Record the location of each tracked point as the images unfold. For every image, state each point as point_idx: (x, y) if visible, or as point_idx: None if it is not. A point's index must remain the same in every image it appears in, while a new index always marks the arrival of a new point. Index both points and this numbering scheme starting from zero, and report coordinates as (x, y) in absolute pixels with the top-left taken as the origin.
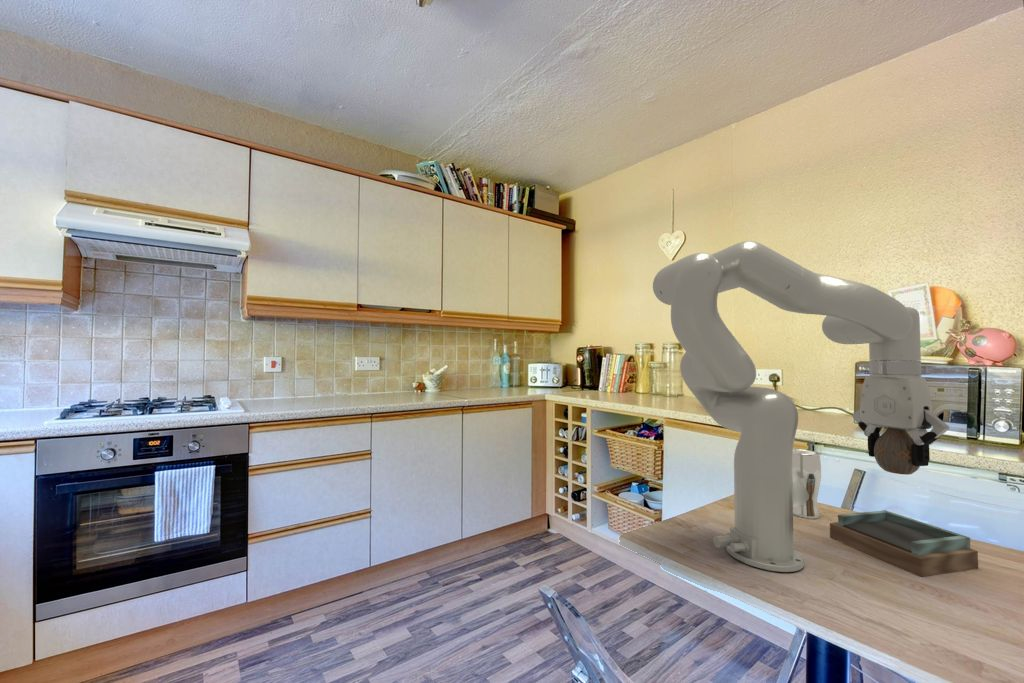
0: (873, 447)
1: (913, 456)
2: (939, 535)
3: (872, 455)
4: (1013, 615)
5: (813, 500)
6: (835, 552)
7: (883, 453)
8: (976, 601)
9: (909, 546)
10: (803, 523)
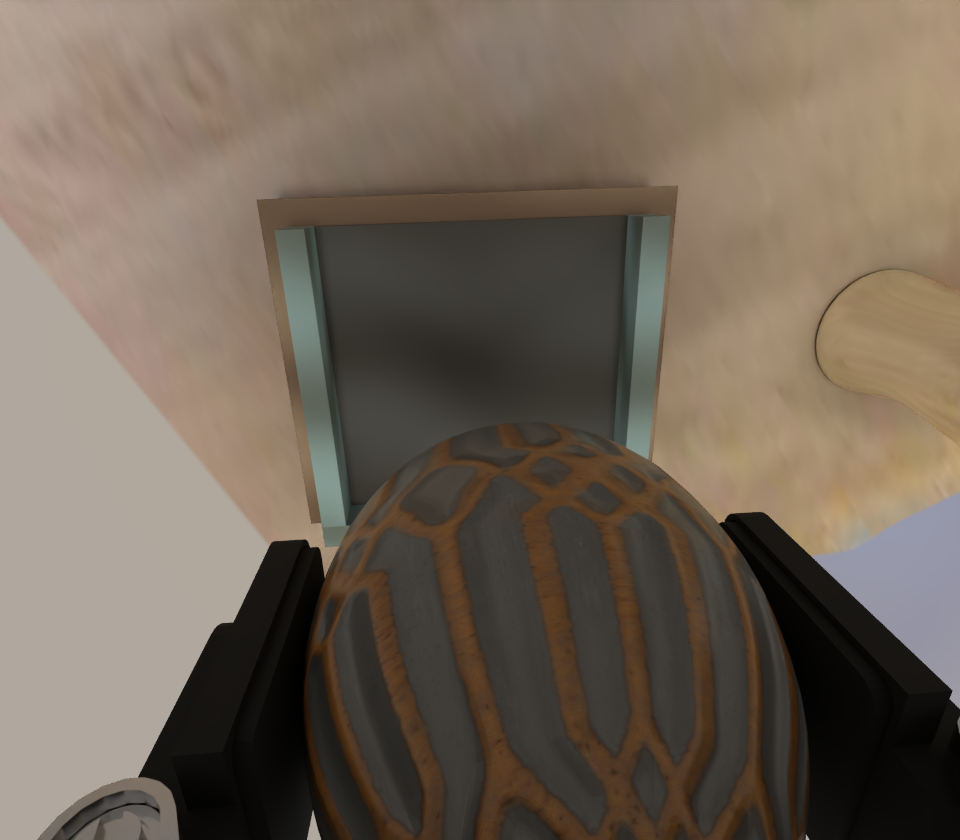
0: (775, 596)
1: (264, 601)
2: None
3: (725, 520)
4: (5, 216)
5: (887, 352)
6: (523, 36)
7: (542, 459)
8: (94, 196)
9: (361, 277)
10: (805, 219)
